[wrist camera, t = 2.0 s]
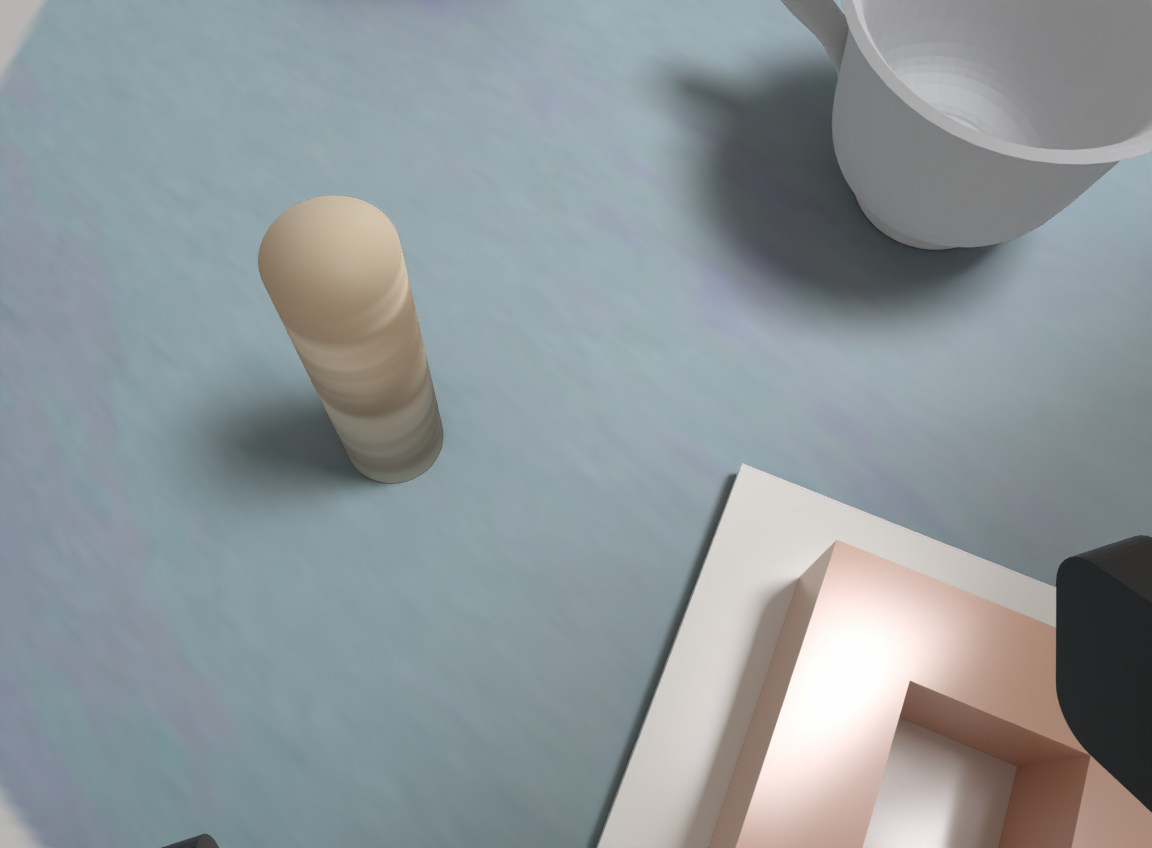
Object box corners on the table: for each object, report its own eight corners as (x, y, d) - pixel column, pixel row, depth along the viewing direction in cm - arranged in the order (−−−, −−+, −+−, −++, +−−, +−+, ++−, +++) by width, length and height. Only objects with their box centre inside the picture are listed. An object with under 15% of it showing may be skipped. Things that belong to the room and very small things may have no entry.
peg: (372, 378, 36) (301, 177, 25) (459, 414, 36) (424, 224, 25) (328, 461, 35) (231, 286, 24) (417, 498, 35) (361, 338, 24)
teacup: (801, -7, 44) (872, -233, 35) (1122, 159, 41) (1291, -38, 32) (653, 184, 40) (687, -13, 31) (997, 381, 37) (1149, 230, 28)
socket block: (737, 473, 36) (770, 411, 30) (1222, 665, 34) (1344, 635, 29) (544, 983, 29) (545, 1014, 24) (1124, 1255, 28) (1257, 1350, 22)
